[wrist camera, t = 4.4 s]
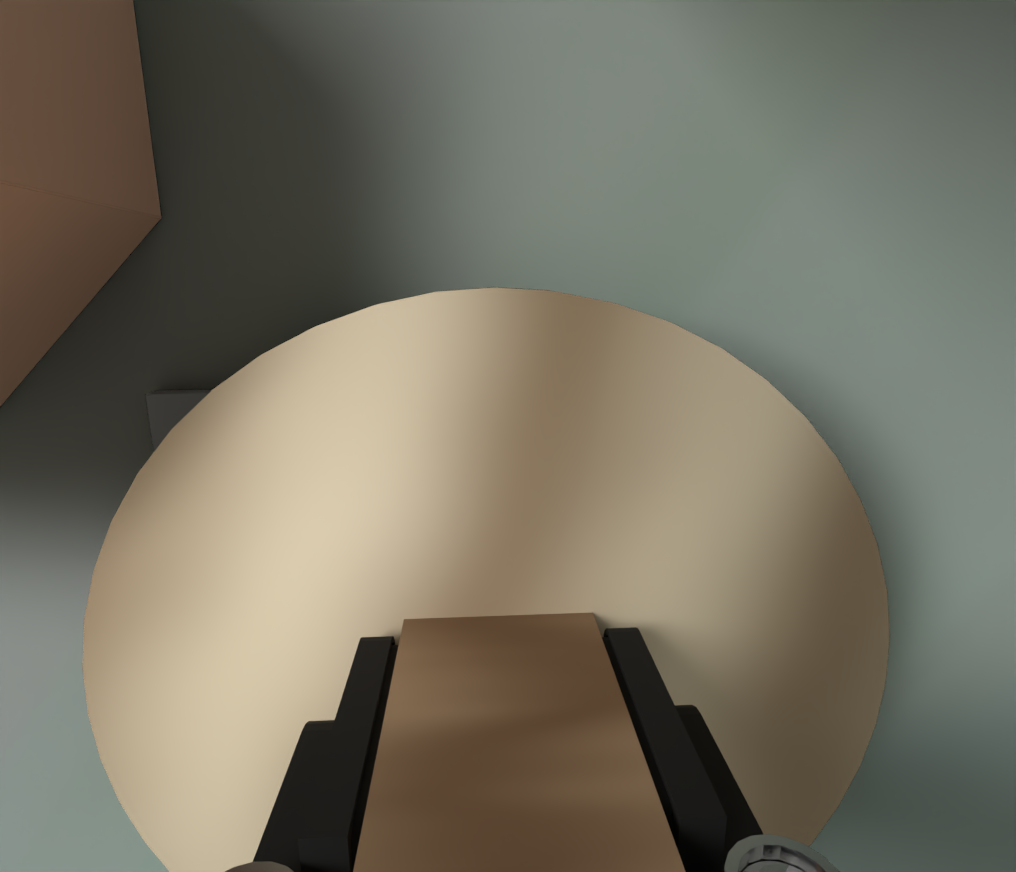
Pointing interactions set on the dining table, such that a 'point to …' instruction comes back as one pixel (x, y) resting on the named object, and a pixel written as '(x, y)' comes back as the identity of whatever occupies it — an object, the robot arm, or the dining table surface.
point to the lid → (484, 588)
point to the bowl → (67, 166)
